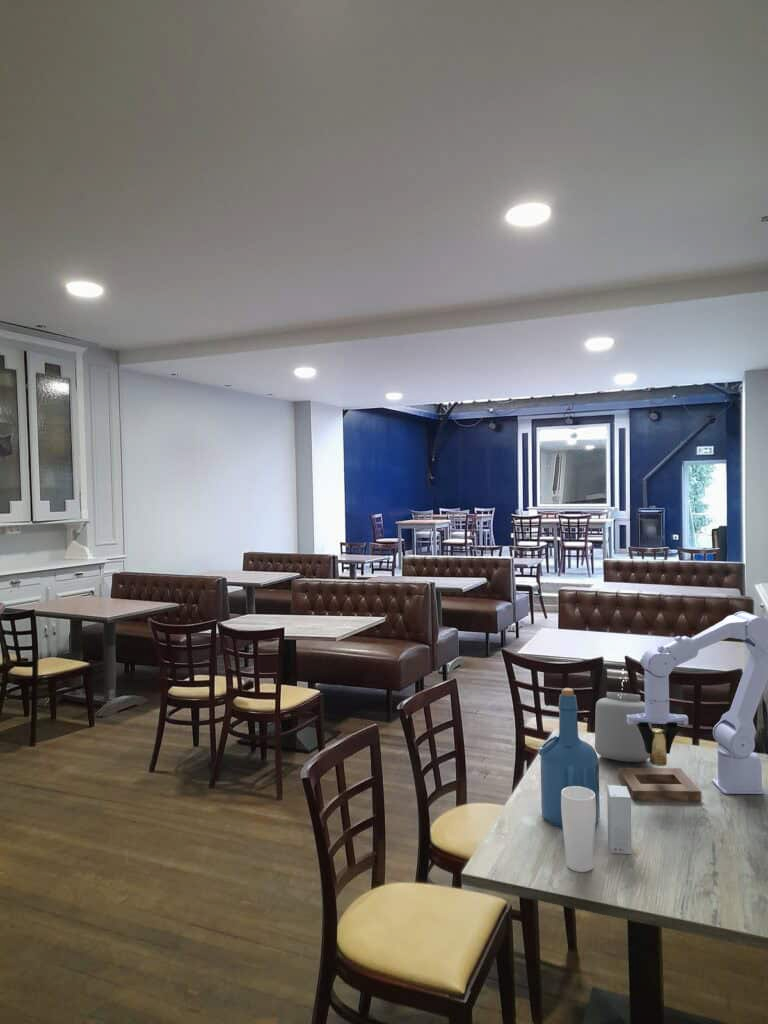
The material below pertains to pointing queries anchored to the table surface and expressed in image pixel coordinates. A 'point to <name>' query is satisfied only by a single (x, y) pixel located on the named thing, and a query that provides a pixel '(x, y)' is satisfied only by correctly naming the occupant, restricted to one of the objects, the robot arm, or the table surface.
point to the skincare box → (619, 819)
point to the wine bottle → (566, 762)
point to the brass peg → (658, 747)
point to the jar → (619, 727)
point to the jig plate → (659, 784)
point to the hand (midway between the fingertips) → (657, 752)
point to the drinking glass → (578, 826)
